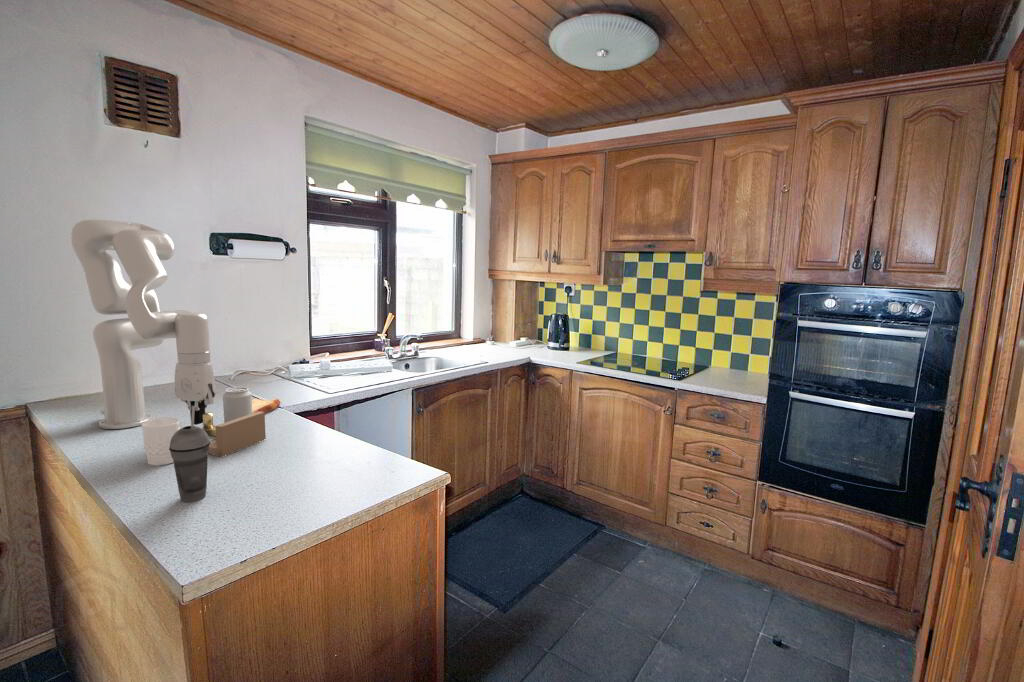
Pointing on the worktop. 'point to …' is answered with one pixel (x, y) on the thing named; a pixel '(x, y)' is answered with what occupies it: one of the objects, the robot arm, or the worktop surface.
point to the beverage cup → (190, 461)
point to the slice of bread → (264, 405)
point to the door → (236, 433)
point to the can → (237, 403)
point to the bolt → (208, 424)
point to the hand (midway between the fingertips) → (198, 422)
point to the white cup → (159, 439)
